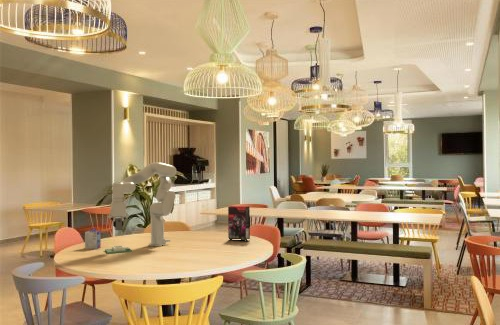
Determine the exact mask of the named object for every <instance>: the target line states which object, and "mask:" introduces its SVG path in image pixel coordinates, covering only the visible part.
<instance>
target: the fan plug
mask: <svg viewBox="0 0 500 325" xmlns="http://www.w3.org/2000/svg"><path fill="white" fill-rule="evenodd" d="M115 222H116V227H114V230H115V231H122V230H123V227H122V218H121V217H116V218H115Z"/></svg>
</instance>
